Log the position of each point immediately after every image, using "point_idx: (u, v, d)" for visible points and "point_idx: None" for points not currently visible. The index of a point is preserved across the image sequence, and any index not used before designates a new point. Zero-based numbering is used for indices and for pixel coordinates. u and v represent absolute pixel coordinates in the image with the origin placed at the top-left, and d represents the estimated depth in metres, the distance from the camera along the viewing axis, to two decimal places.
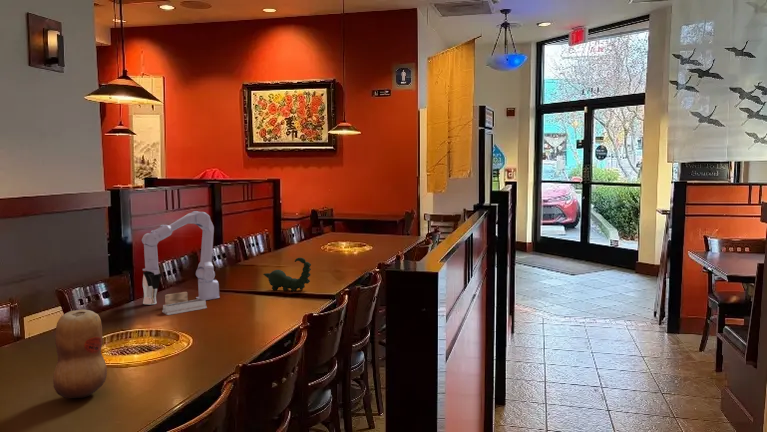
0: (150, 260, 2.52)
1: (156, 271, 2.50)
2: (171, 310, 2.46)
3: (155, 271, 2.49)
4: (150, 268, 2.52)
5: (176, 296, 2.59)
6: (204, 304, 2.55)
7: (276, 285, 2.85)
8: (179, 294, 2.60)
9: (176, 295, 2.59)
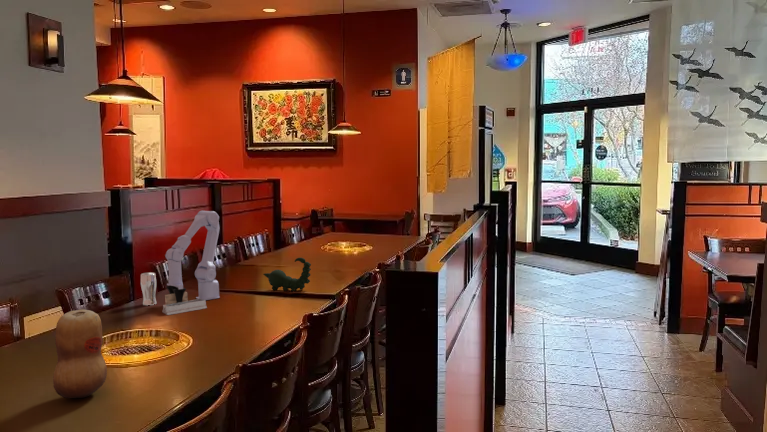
0: (174, 275, 2.56)
1: (180, 286, 2.54)
2: (171, 310, 2.46)
3: (179, 286, 2.54)
4: (174, 283, 2.57)
5: None
6: (204, 304, 2.55)
7: (276, 285, 2.85)
8: None
9: None
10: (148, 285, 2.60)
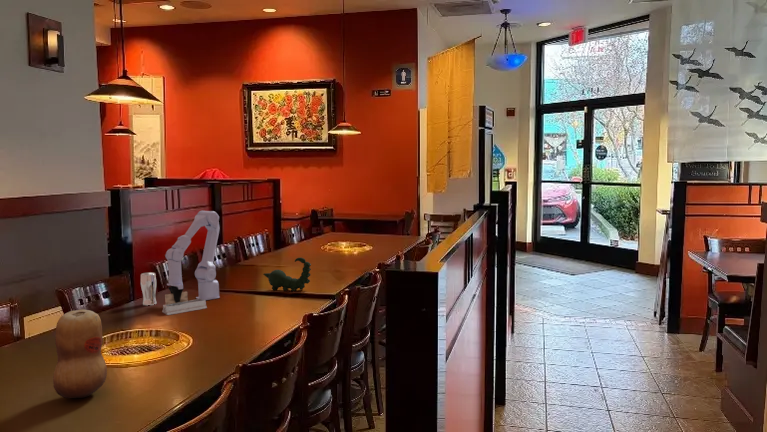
0: (174, 275, 2.56)
1: (180, 286, 2.54)
2: (171, 310, 2.46)
3: (179, 286, 2.54)
4: (174, 283, 2.57)
5: None
6: (204, 304, 2.55)
7: (276, 285, 2.85)
8: None
9: None
10: (148, 285, 2.60)
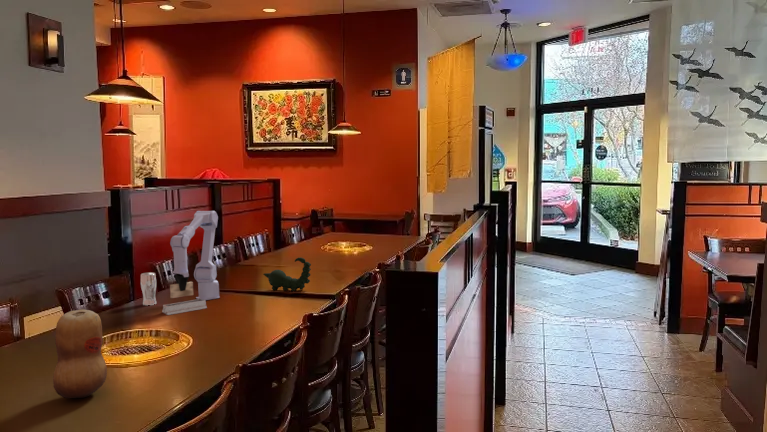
0: (180, 262, 2.49)
1: (186, 274, 2.46)
2: (171, 310, 2.46)
3: (185, 274, 2.46)
4: (179, 271, 2.49)
5: None
6: (204, 304, 2.55)
7: (276, 285, 2.85)
8: None
9: None
10: (148, 285, 2.60)
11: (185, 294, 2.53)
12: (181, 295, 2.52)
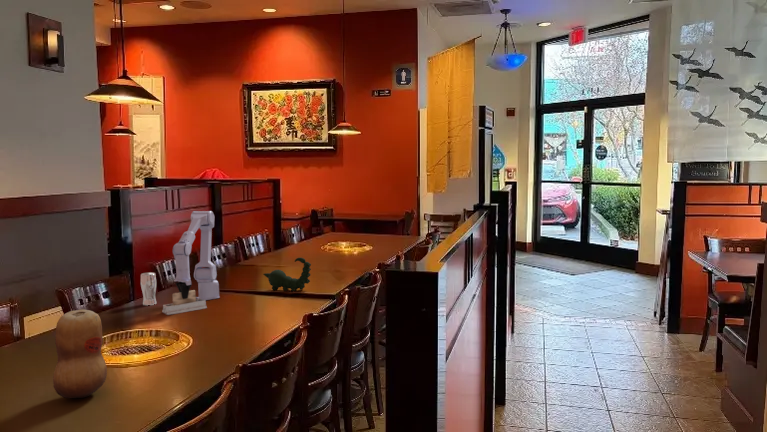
0: (182, 270, 2.48)
1: (188, 282, 2.45)
2: (171, 310, 2.46)
3: (187, 282, 2.45)
4: (182, 279, 2.48)
5: None
6: (204, 304, 2.55)
7: (276, 285, 2.85)
8: None
9: None
10: (148, 285, 2.60)
11: None
12: None
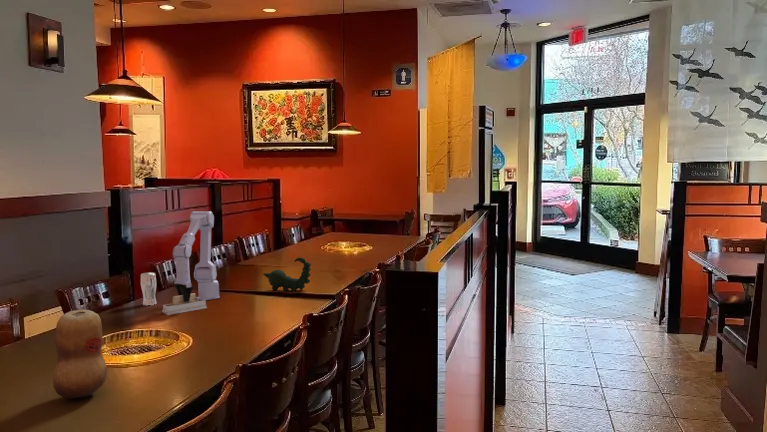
0: (182, 273, 2.48)
1: (188, 284, 2.45)
2: (171, 310, 2.46)
3: (187, 284, 2.45)
4: (182, 281, 2.48)
5: None
6: (204, 304, 2.55)
7: (276, 285, 2.85)
8: None
9: None
10: (148, 285, 2.60)
11: None
12: None
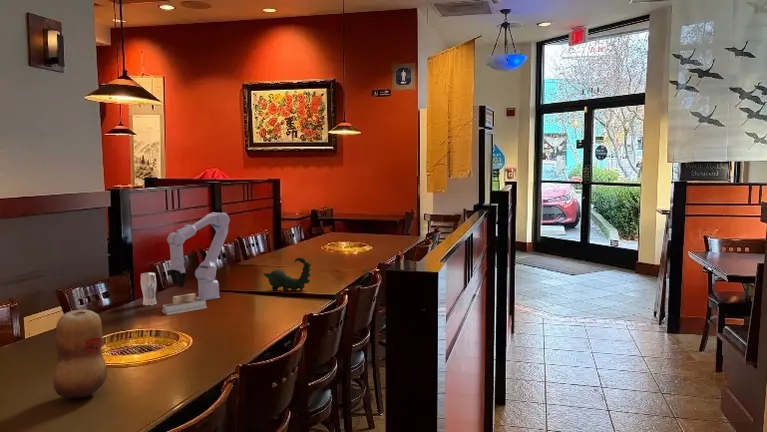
0: (176, 259, 2.57)
1: (182, 270, 2.55)
2: (171, 310, 2.46)
3: (181, 270, 2.54)
4: (176, 267, 2.57)
5: (184, 298, 2.51)
6: (204, 304, 2.55)
7: (276, 285, 2.85)
8: (187, 296, 2.52)
9: (184, 297, 2.51)
10: (148, 285, 2.60)
11: None
12: None
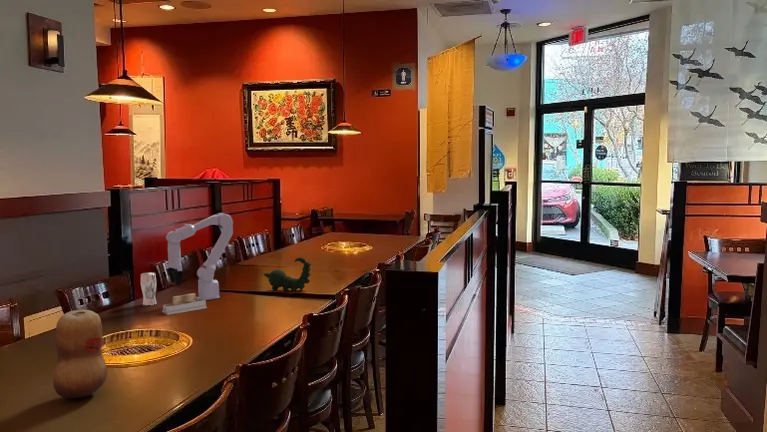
0: (173, 257, 2.62)
1: (179, 268, 2.59)
2: (171, 310, 2.46)
3: (178, 268, 2.59)
4: (173, 265, 2.62)
5: (184, 298, 2.51)
6: (204, 304, 2.55)
7: (276, 285, 2.85)
8: (187, 296, 2.52)
9: (184, 297, 2.51)
10: (148, 285, 2.60)
11: None
12: None
